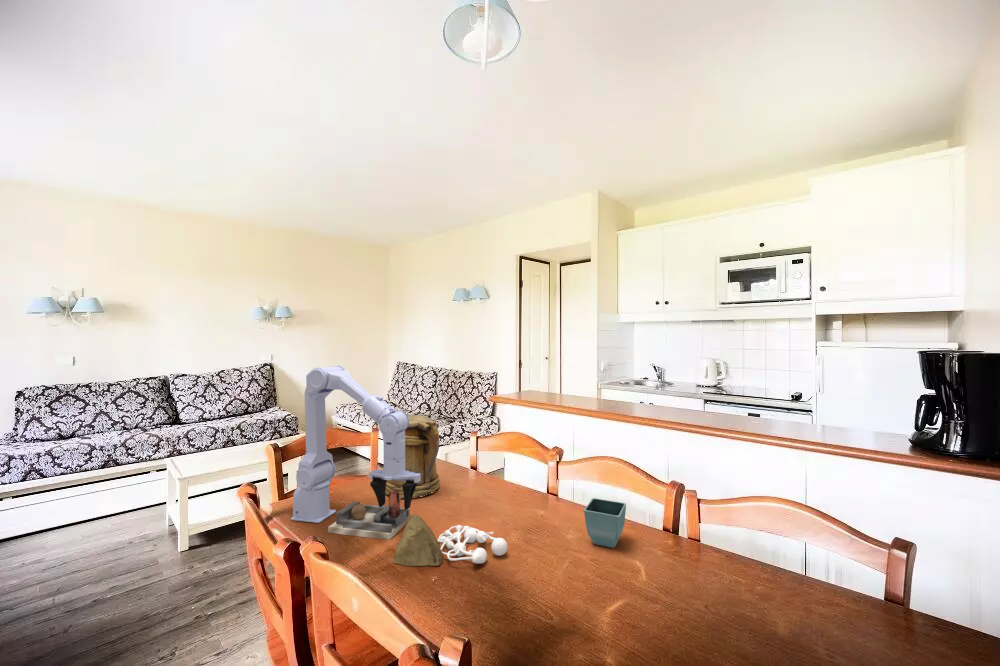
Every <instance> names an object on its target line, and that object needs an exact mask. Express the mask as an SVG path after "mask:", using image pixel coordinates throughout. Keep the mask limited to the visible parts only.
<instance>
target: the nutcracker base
mask: <svg viewBox="0 0 1000 666" xmlns="http://www.w3.org/2000/svg"><path fill="white" fill-rule="evenodd" d="M358 504H361V503H360V501H352V502H350V503H349V504H348V505H346V506H344V507H343V508H342V509H340V510H339V511H336V512H335V513H336V515H335V517H336V518H335V522H333V523H332V524H330V525H329V526H327V532H328V534H338V535H345V536H346V535H347V536H353V537H362V538H371V539H377V540H385V539H386V541H390V540H391V539H392V538H393V537H394V536H396V534H397V533H399V532H400V530H401V529H403V527H405V526H406V525H407V524H406V523H407V522H408V521H409V520H410V518H411V513H410V508H408V509H407V510H406V509H405V508H404V507H400V509H405V510H406V519H405V520H404V521H403V522H402V523H401V524H400V525H399V526H398V527H397V528H392V524H384V523H375V522H374V515H376V514H377V513H378V512H379V511H381V510H382V509H383V508H385V507H386V506H387V505H386V506H385V505H383V506H382V507H379V505H375V504H363V505H364V506H365V508H366V515H365V516H364V517H363V518H362V519H360V520H355V519H354V518H353V517H352V515H351V511H352V509H353V507H354V506H356V505H358Z"/></svg>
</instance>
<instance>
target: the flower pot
mask: <svg viewBox="0 0 1000 666" xmlns="http://www.w3.org/2000/svg"><path fill="white" fill-rule="evenodd" d="M626 509H627V504H626V503H625V502H621V501H615V500H614V501H613V500H607V499H601V498H597V497H594V498H591V499H590V501H589V502H588V504H587V505H586V506H585V507H584V509H583V512H584V521H585V527H586V532H587V534H588V536H589V538H590V541H592V543H593V544H594V545H598V546H601V547H606V548H610V549H611V548H612V549H614V548H616V547H617V544H618V542H619V539H620V537H621V535H622V533H623V530H624V527H625V522H626V512H627V511H626Z"/></svg>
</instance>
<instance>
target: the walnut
mask: <svg viewBox="0 0 1000 666" xmlns="http://www.w3.org/2000/svg"><path fill="white" fill-rule="evenodd" d="M364 505H365V504H361V503H360V504H358V505H356V506H354V507H353V509H352V511H351V515H352V517H353V518H354V519H355V520H360V519H362V518H363V517H364V516H365V515H366V508H365V506H364Z"/></svg>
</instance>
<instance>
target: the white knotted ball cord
mask: <svg viewBox="0 0 1000 666" xmlns="http://www.w3.org/2000/svg"><path fill="white" fill-rule="evenodd" d="M452 529H455V532H451V530H452ZM463 533H464V534H463ZM462 534H463V536H464V537H463V538H464V541H463V542H461V540H462ZM491 535H494V531H490V532H485V531H483V530H479V529H478V528H476V527H471V526H469V525H464V526H463V525H461V524H457V525H453V526H451V527H450V528H449V529H446V530H445V531H444V532H443V533H441V534H440V535H439V536H438V538H437V540H438V543H440V544H441V546H440V549H441V551H442V555H445V556H447V557H446V558H447V559H448V560H449V561H450V562H455V561H462V560H463V561H464V560H466V561H467V560H471V562H472V563H474V564H479V565H481V564H484V563H486V561H487V557H488V554H487V551H486V550H485V549H484V548H482V547H477V548H475V550H471V549H470V550H468V551H467V548H466V544H467V543H468V544H473V543H475V542H476V541H477V543H479V544H483V543H486V541H487V539H488V540H491V541H492V542H491V547H490V548H491V550H492V552H493V554H494V555H495V556H498V557H499V556H503V555H504V554H506V552H507V551H508V543H507V541H506V540H505V539H504V538H502V537H494V536H491ZM453 540H454V541H456V543H454V542H453ZM445 546H446V547H447V549H449V550H448V552H445V551H443V549H444V547H445ZM464 555H466V556H464ZM454 556H455V557H456V556H457V558H452V557H454ZM462 556H463V557H462ZM467 556H468V557H467Z"/></svg>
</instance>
